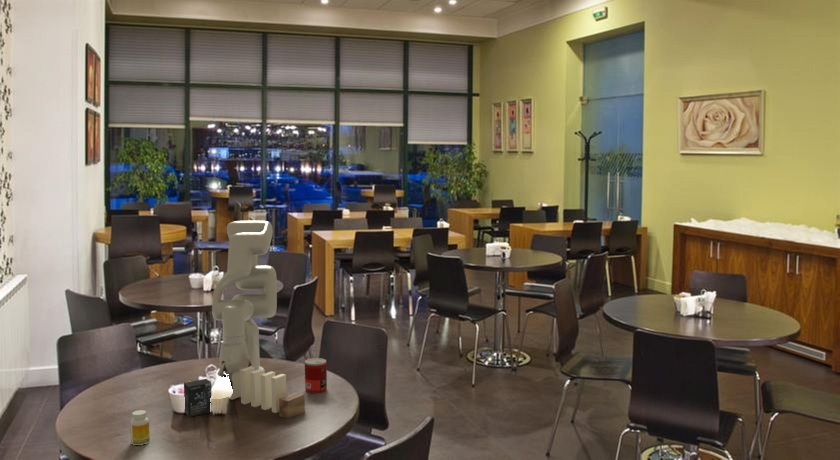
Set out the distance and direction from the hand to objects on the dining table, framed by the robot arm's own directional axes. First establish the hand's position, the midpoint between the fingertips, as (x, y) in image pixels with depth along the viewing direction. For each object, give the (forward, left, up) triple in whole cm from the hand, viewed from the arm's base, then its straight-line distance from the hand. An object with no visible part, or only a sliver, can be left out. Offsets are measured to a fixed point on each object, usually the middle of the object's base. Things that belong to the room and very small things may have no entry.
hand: (235, 388), depth 272 cm
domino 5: (+22, 0, -3) cm, 22 cm away
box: (+1, -17, -4) cm, 17 cm away
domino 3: (+12, 0, -3) cm, 12 cm away
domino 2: (+7, 0, -3) cm, 7 cm away
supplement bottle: (+7, -44, -4) cm, 45 cm away
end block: (+28, 0, -3) cm, 28 cm away
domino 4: (+17, 0, -3) cm, 17 cm away
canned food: (+18, +23, -4) cm, 29 cm away
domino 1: (0, 0, -3) cm, 3 cm away
